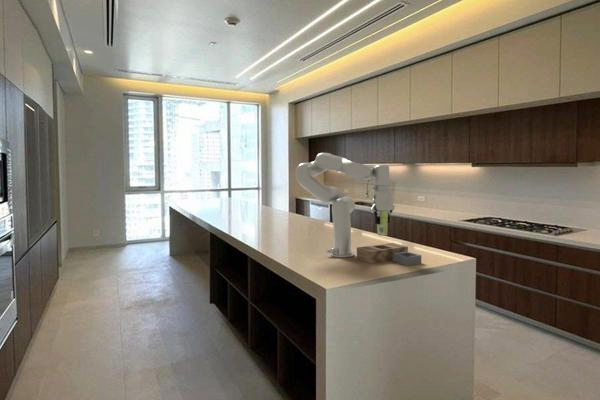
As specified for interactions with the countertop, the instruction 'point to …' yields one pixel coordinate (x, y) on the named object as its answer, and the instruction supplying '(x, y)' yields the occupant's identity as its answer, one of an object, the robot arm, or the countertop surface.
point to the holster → (406, 258)
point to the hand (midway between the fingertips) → (382, 222)
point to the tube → (383, 223)
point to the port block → (379, 252)
